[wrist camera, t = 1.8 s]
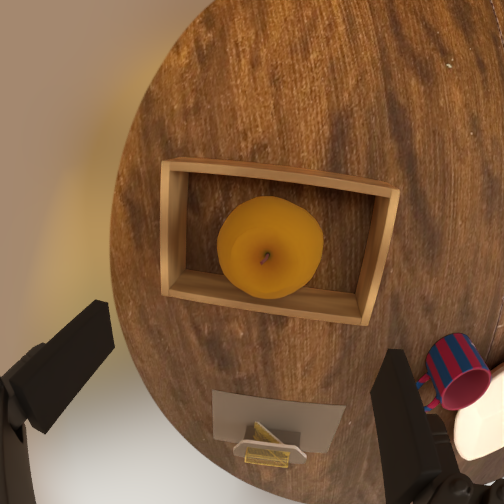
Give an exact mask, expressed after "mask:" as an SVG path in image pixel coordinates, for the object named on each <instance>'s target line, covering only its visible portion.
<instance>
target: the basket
mask: <svg viewBox="0 0 504 504" xmlns="http://www.w3.org/2000/svg"><path fill="white" fill-rule="evenodd" d="M189 172H197V173H209V174H220V175H230V176H240V177H250V178H259V179H268V180H276V181H284V182H292V183H299V184H307V185H314V186H321V187H327V188H334V189H340V190H347V191H353V192H359V193H365V194H370V195H376V196H375V202H374V208H373V213H372V219H371V224H370V229H369V234H368V239H367V244H366V249H365V253H364V258H363V262H362V267H361V271H360V275H359V280H358V284H357V288H356V292H355V294H354V293H347V292H339V291H332V290H324V289H317V288H309V287H301V288H300V289H298V290H297V291H295V292H294V293H292V294H289V295H287V296H284V297H282V298H277V299H261V298H256V297H252V296H251V295H249V294H247V293H246V292H244V291H242V290H241V289H239V288H237V287H236V286H234V285H233V284H232V283H231V282H230V281H229V280H228V279H227V278H226V276H225V275H221V274H214V273H208V272H202V271H195V270H189V269H186V234H187V203H188V181H189ZM399 196H400V190H399V189H397V188H396V187H394V186H392V185H390V184H389V183H387V182H385V181H380V180H379V181H378V180H375V179H369V178H363V177H358V176H352V175H346V174H340V173H333V172H327V171H320V170H313V169H306V168H298V167H291V166H283V165H274V164H265V163H256V162H246V161H236V160H224V159H212V158H198V157H178V158H173V159H168V160H163V161H162V162H161V190H160V269H161V295H164V296H170V297H175V298H181V299H186V300H191V301H197V302H202V303H208V304H214V305H220V306H225V307H231V308H237V309H244V310H250V311H256V312H263V313H269V314H276V315H283V316H290V317H297V318H305V319H312V320H320V321H328V322H336V323H344V324H353V325H362V326H368V323H369V320H370V317H371V313H372V310H373V307H374V303H375V300H376V296H377V293H378V289H379V285H380V282H381V278H382V274H383V270H384V266H385V262H386V258H387V254H388V249H389V245H390V241H391V236H392V232H393V227H394V222H395V217H396V212H397V207H398V202H399Z"/></svg>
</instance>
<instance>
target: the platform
mask: <svg viewBox="0 0 504 504" xmlns="http://www.w3.org/2000/svg"><path fill="white" fill-rule="evenodd" d="M345 407H346V406H342V405H326V404H313V403H302V402H292V401H283V400H275V399H267V398H260V397H253V396H246V395H240V394H234V393H228V392H222V391H217V390H212V410H213V439H216V440H221V441H226V442H232V443H238V444H237V445H236V446H235V447H234V449H233V454H234V455H235V456H240V457H245V462H246V460H247V458H249V459H250V458H252V459H253V462H254V459H256V462H257V459H259V461H260V460H262V461H263V460H265V461H266V460H268V461H269V463H270V461H272V463H273V461H275V463H276V462H279V466H277V463H276V466H277V467H284V465H285V466H286V468H288V463H296V464H304V463H305V462H306V458H307V456H306V455H305V454H304V453H303V452H315V453H327V451H328V449H329V447H330V444H331V442H332V440H333V437H334V435H335V432H336V430H337V427H338V425H339V422H340V420H341V417H342V415H343V412H344V410H345ZM280 462H282V465H283V464H284V463H283V462H285V464H284V465H283V466H280ZM247 463H252V462H251V460H250V462H248V460H247ZM286 463H287V464H286ZM253 464H258V462H257V463H255V462H254V463H253ZM266 464H267V461H266ZM266 464H264V461H263V464H261V462H260V465H266ZM267 465H268V464H267ZM268 466H274V463H273V465H271V464H270V465H268Z"/></svg>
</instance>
